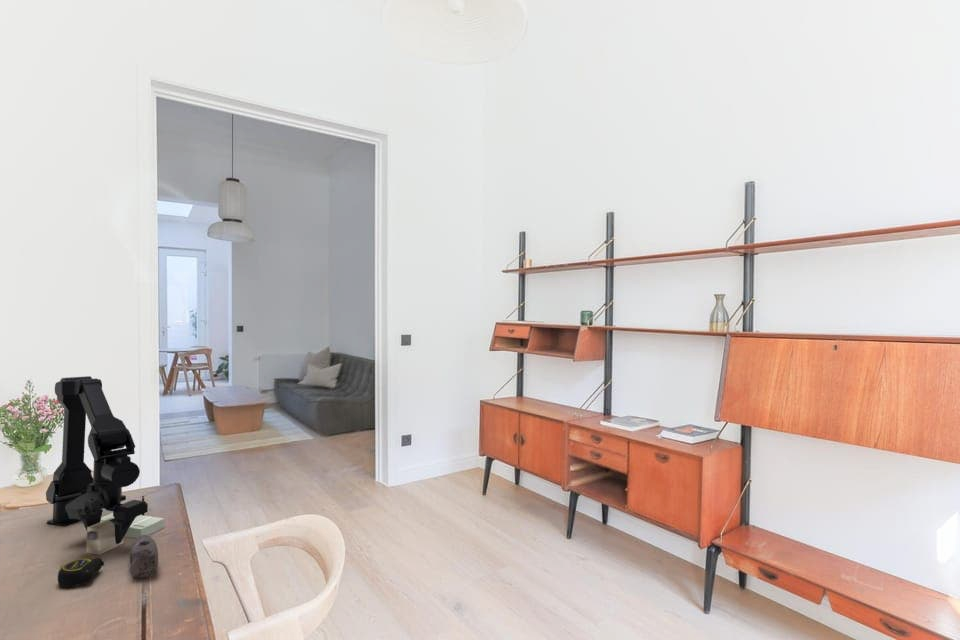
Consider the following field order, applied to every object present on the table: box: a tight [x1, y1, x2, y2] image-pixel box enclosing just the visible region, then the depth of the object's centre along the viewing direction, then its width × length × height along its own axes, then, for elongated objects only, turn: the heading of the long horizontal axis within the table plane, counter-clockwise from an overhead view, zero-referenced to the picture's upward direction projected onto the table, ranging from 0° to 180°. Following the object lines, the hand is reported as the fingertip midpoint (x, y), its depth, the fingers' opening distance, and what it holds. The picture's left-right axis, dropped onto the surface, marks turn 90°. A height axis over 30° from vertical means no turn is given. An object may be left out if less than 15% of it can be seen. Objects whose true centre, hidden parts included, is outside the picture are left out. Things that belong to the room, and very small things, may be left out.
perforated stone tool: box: [128, 535, 159, 579], centre depth 110 cm, size 15×5×7 cm, turn 36°
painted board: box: [100, 512, 165, 539], centre depth 129 cm, size 16×7×3 cm, turn 78°
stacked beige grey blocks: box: [85, 518, 124, 555], centre depth 119 cm, size 4×8×6 cm, turn 168°
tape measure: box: [57, 557, 106, 588], centre depth 104 cm, size 7×7×4 cm
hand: (105, 541), depth 119 cm, fingers open, 7 cm apart
